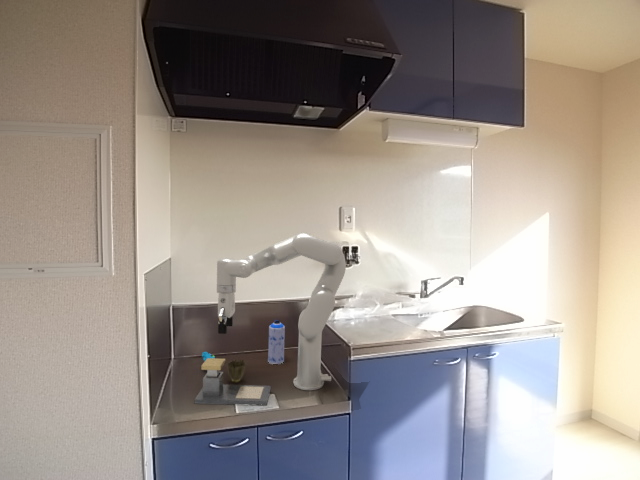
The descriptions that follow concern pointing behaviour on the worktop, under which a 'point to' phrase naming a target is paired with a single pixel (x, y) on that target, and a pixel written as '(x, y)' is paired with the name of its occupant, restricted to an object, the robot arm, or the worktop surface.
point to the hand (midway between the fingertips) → (225, 329)
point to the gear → (207, 355)
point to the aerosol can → (276, 343)
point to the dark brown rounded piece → (236, 370)
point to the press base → (231, 393)
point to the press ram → (213, 367)
